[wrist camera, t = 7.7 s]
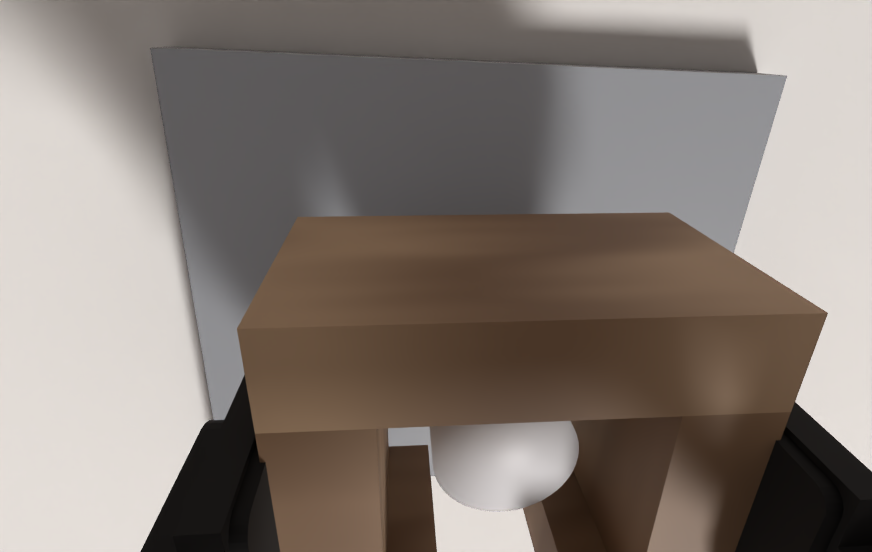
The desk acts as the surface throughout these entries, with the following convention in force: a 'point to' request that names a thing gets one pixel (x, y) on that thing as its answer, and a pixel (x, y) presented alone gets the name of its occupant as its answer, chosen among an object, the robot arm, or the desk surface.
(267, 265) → the post base
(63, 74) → the desk surface
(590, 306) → the wooden arch block
